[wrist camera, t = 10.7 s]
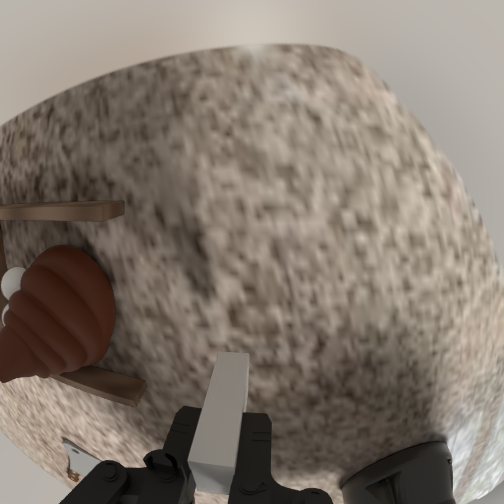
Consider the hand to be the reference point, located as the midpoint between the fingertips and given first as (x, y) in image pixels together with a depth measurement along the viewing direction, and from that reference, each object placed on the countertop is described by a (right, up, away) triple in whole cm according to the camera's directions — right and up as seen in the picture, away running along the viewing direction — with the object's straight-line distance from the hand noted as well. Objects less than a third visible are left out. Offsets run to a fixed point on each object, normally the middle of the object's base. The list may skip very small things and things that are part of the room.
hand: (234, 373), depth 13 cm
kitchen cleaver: (-28, -32, +16) cm, 45 cm away
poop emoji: (-13, +2, +5) cm, 14 cm away
